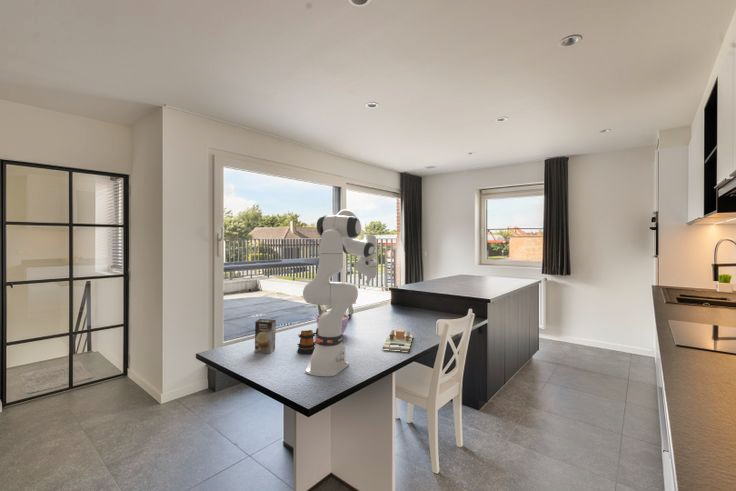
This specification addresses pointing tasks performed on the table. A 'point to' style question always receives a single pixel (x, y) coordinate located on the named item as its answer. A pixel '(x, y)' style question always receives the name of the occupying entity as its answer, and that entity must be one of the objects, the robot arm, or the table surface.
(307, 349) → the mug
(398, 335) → the block
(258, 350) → the coffee box
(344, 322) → the bowl of food
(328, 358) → the robot arm
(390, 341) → the tunnel board
